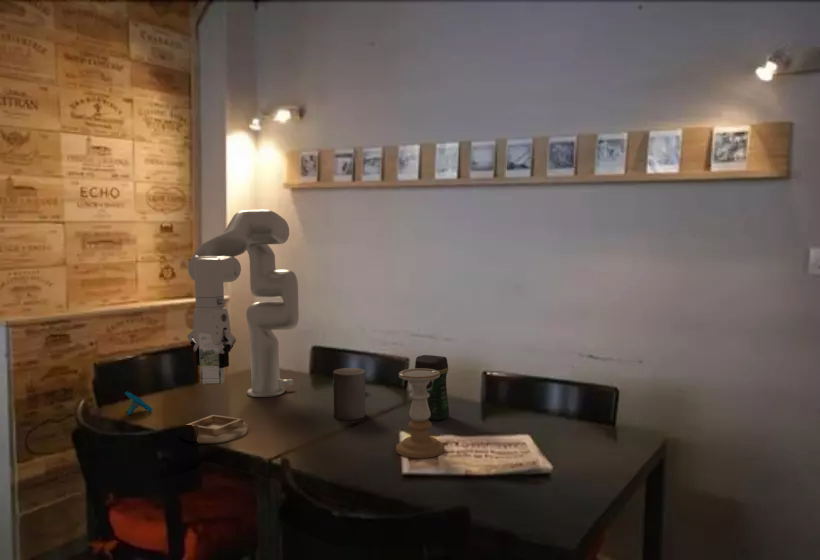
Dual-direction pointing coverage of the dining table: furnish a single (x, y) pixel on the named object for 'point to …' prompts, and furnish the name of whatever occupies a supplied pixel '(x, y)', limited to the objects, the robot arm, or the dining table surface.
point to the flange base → (219, 429)
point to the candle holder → (419, 417)
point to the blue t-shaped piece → (136, 403)
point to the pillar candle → (349, 393)
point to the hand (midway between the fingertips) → (212, 365)
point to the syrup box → (209, 361)
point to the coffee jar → (436, 385)
